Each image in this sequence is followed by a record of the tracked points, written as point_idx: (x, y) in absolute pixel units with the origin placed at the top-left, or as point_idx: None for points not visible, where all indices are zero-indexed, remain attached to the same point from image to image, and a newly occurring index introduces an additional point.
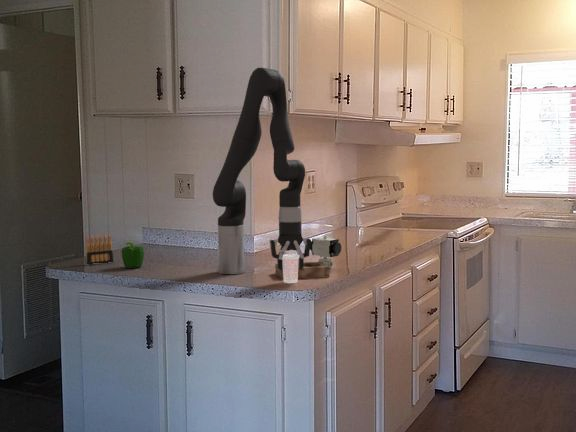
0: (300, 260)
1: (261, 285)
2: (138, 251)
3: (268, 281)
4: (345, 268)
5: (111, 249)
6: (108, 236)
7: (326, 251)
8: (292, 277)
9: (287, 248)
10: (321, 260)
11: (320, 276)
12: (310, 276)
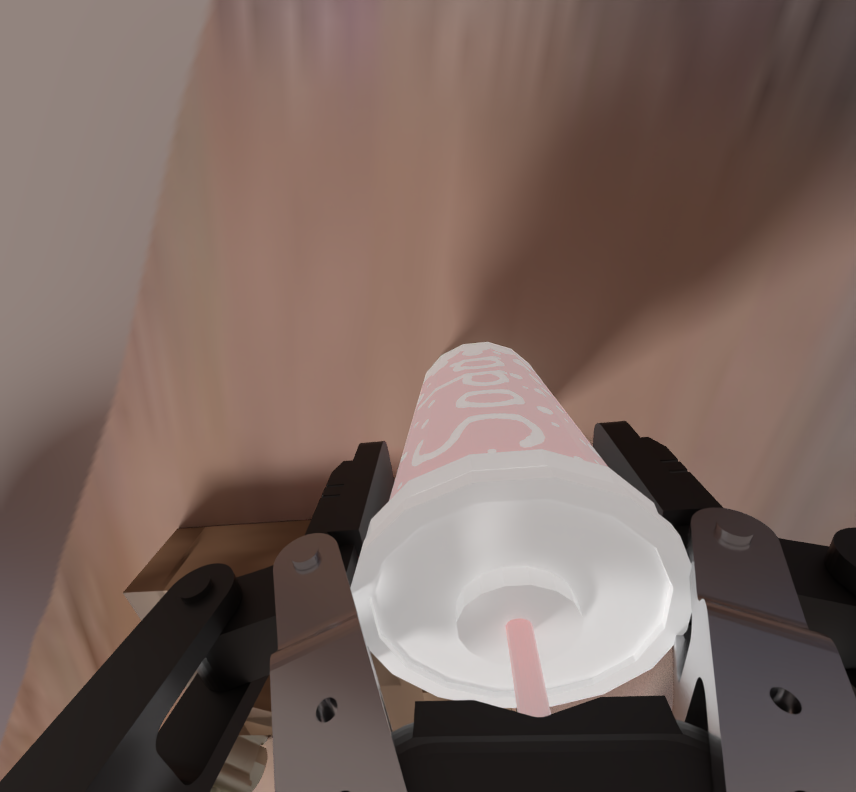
0: (352, 514)
1: (793, 274)
2: None
3: (659, 441)
4: None
5: None
6: None
7: None
8: (474, 359)
9: (669, 771)
10: (234, 777)
11: (237, 528)
12: (308, 525)
